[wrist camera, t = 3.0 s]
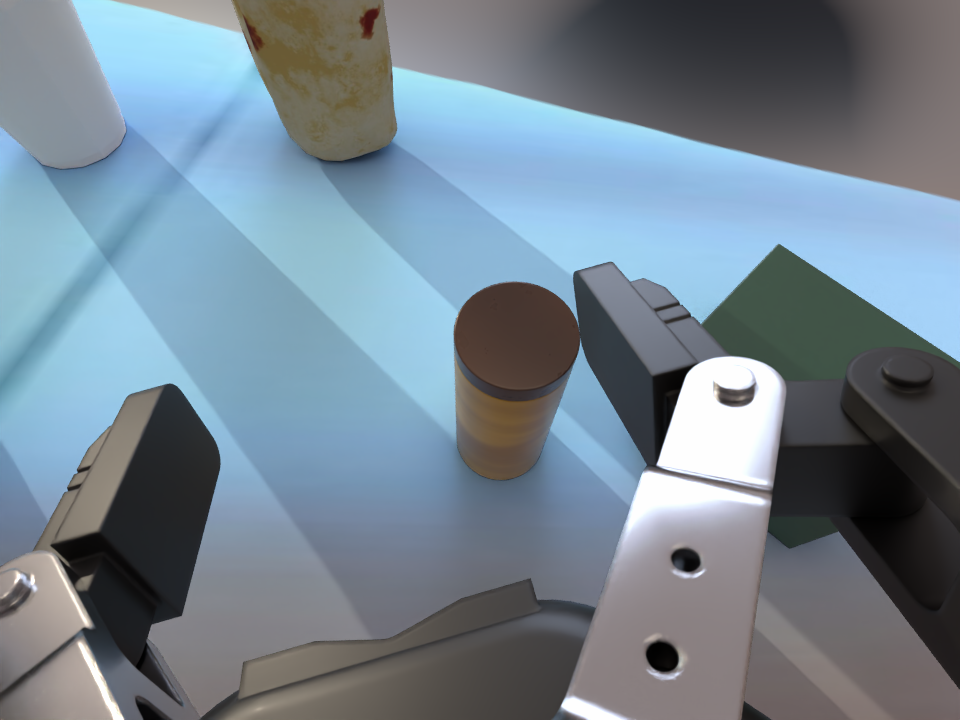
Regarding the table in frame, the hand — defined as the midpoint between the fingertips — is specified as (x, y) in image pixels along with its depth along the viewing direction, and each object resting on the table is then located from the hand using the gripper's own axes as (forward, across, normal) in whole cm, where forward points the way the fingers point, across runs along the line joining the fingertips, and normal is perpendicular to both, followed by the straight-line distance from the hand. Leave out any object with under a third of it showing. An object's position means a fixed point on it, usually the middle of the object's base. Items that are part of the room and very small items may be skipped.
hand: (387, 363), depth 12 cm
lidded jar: (+13, -2, +15) cm, 20 cm away
